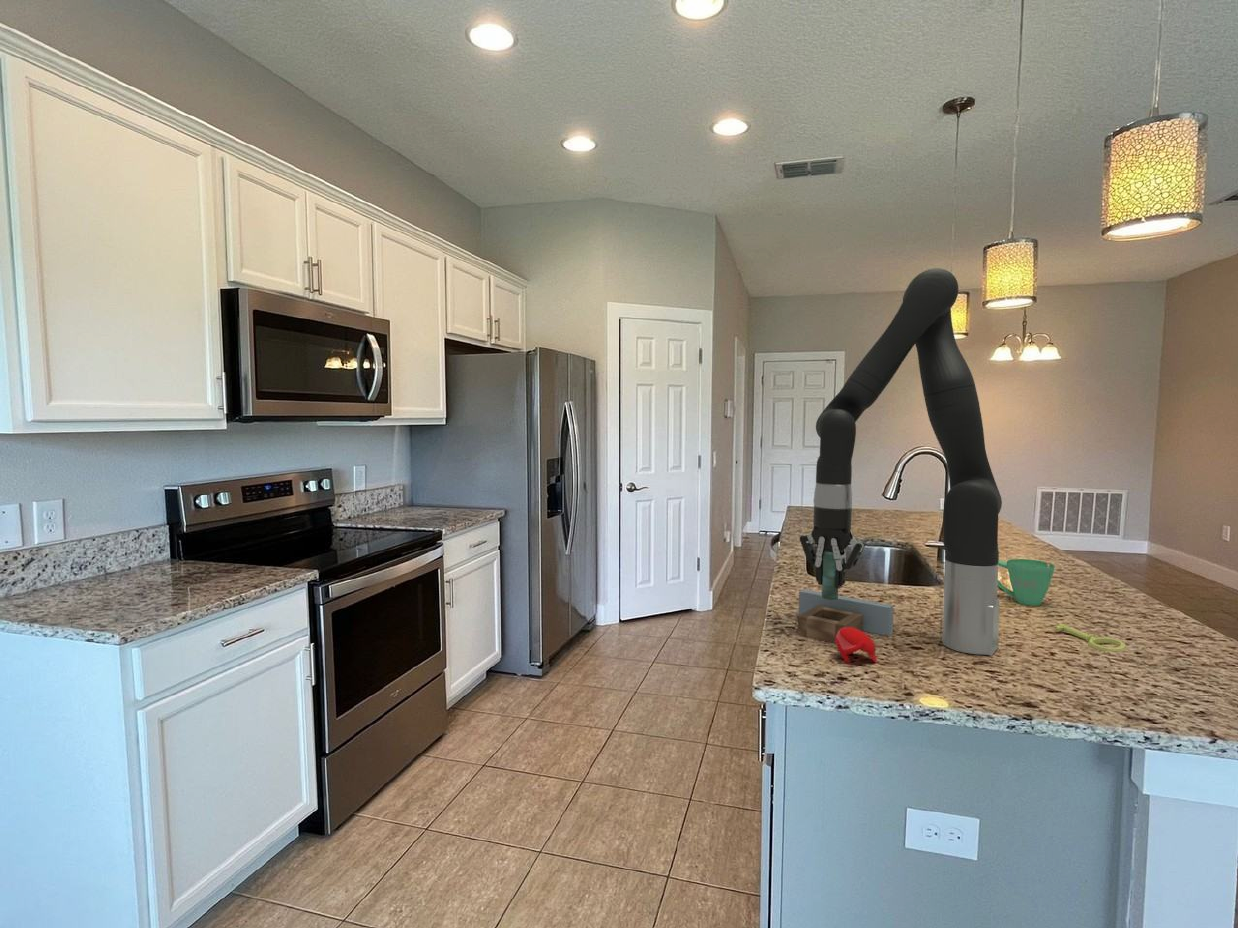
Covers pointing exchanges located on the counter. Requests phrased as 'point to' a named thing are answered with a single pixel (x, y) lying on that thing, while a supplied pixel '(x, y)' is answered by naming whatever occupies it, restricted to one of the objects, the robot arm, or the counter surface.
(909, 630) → the counter surface
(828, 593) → the dowel
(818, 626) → the holed block
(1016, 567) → the mug
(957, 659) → the counter surface
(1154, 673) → the counter surface
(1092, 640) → the key
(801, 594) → the wall
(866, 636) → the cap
